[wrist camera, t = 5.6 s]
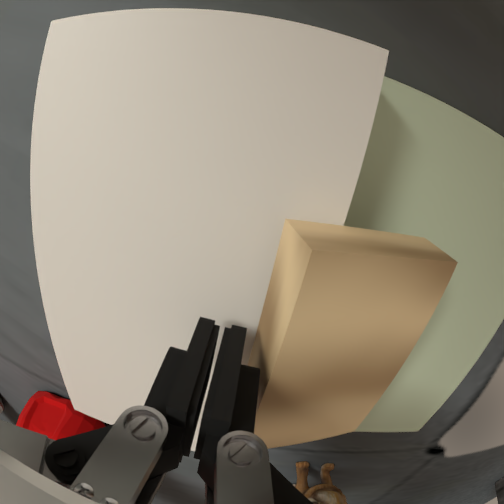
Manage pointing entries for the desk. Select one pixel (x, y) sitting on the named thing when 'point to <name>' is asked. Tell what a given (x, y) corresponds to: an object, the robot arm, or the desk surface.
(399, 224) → the mat
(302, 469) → the lion figurine
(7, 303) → the desk surface
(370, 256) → the wooden tile
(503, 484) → the beverage cup
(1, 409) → the soda can
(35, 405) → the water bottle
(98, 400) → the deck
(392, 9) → the desk surface
